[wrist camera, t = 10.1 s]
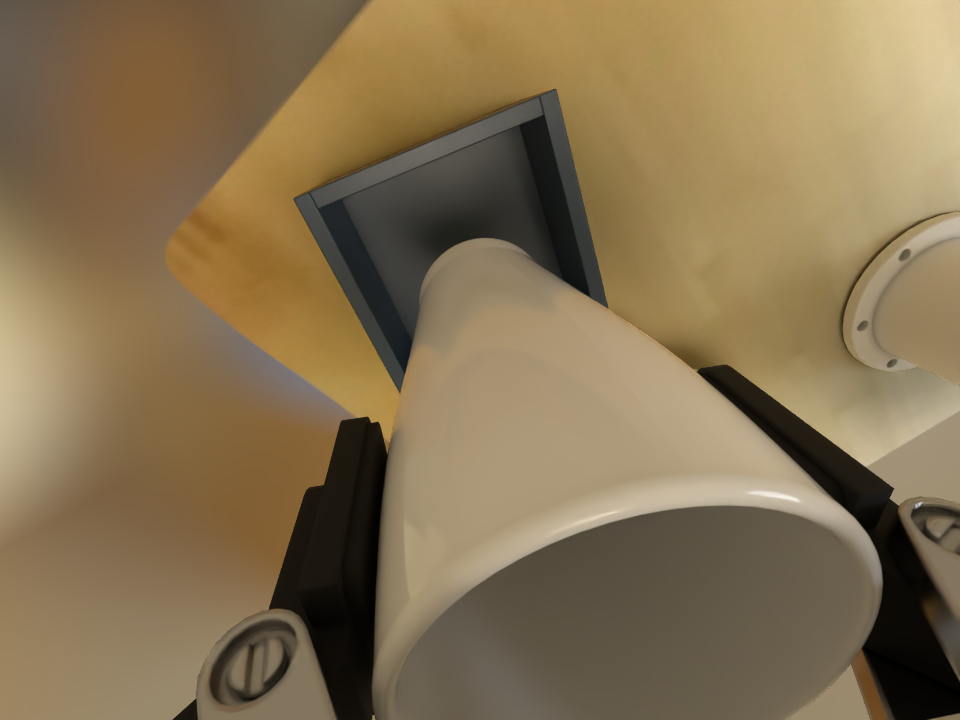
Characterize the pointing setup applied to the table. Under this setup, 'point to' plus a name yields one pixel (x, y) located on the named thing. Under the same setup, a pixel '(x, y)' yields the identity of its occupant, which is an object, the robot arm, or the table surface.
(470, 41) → the table surface
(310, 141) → the table surface
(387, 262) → the bin
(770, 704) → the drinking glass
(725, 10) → the table surface
